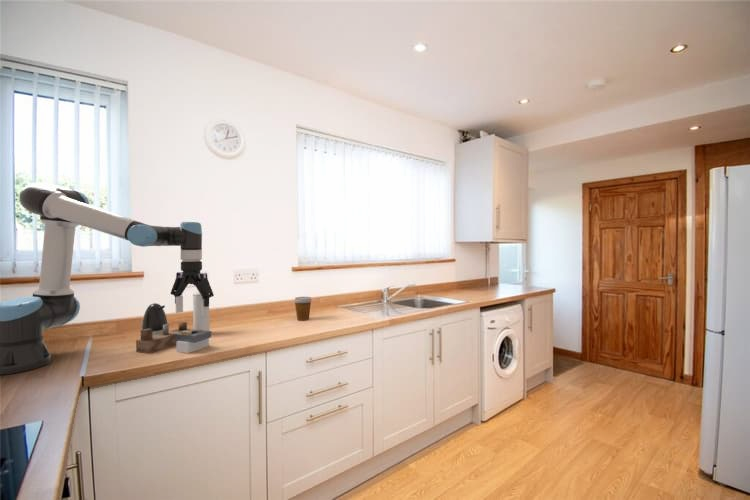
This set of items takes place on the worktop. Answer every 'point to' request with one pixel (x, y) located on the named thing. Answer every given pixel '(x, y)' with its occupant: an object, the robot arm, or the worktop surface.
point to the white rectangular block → (191, 346)
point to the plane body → (158, 339)
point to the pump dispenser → (154, 318)
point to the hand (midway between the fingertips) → (191, 313)
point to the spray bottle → (199, 314)
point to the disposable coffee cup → (303, 308)
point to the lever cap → (192, 335)
